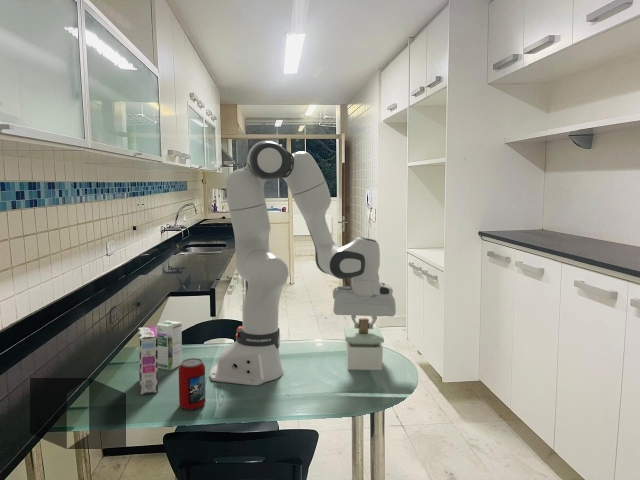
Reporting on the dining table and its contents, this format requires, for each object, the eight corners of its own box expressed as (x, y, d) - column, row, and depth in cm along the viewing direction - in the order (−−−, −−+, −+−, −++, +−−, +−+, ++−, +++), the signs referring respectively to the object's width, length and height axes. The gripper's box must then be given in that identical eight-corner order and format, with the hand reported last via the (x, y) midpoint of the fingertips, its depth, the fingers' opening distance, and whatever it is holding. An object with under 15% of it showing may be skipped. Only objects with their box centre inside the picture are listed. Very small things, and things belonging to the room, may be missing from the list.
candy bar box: (159, 392, 129) (157, 336, 127) (140, 395, 127) (138, 338, 125) (156, 377, 139) (155, 325, 137) (138, 380, 137) (137, 327, 135)
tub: (347, 371, 145) (348, 347, 145) (346, 358, 156) (346, 336, 155) (382, 372, 145) (382, 348, 144) (378, 359, 156) (378, 336, 155)
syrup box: (156, 368, 146) (155, 324, 144) (168, 361, 151) (168, 319, 150) (170, 371, 144) (169, 326, 142) (182, 364, 149) (182, 321, 148)
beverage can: (198, 412, 118) (197, 368, 116) (174, 409, 119) (173, 365, 118) (209, 400, 124) (209, 358, 123) (187, 398, 126) (186, 356, 124)
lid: (345, 345, 144) (346, 324, 143) (344, 333, 156) (344, 314, 155) (383, 346, 144) (384, 325, 143) (379, 334, 156) (380, 315, 155)
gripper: (333, 288, 145) (332, 330, 146) (397, 290, 145) (395, 332, 146) (332, 284, 151) (331, 324, 153) (394, 285, 151) (392, 326, 152)
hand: (363, 328), depth 149 cm, fingers closed on lid, 3 cm apart
